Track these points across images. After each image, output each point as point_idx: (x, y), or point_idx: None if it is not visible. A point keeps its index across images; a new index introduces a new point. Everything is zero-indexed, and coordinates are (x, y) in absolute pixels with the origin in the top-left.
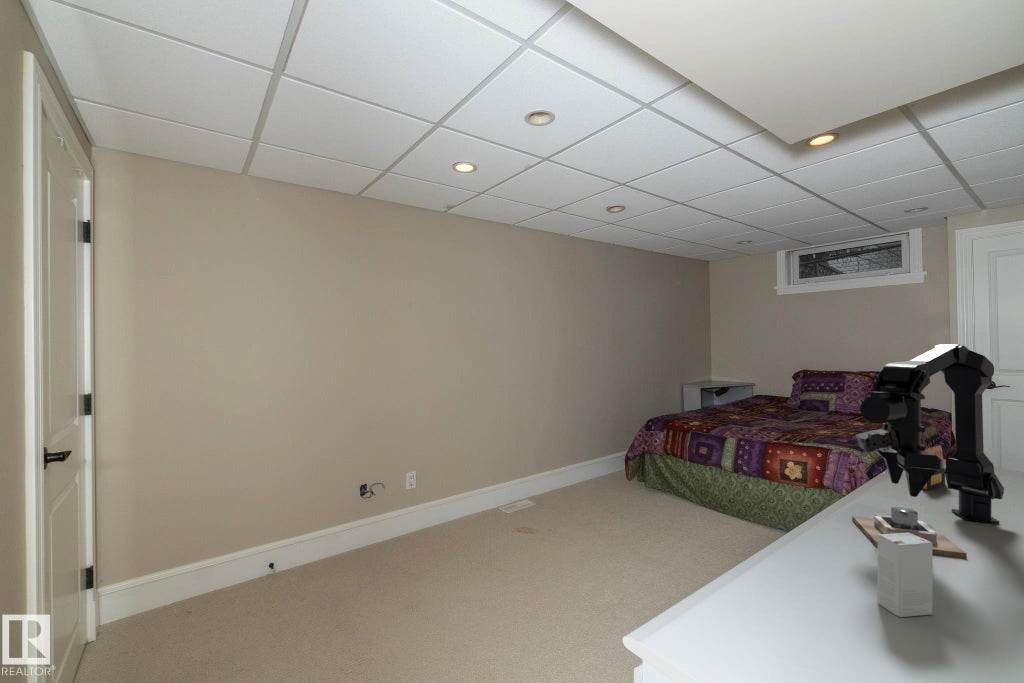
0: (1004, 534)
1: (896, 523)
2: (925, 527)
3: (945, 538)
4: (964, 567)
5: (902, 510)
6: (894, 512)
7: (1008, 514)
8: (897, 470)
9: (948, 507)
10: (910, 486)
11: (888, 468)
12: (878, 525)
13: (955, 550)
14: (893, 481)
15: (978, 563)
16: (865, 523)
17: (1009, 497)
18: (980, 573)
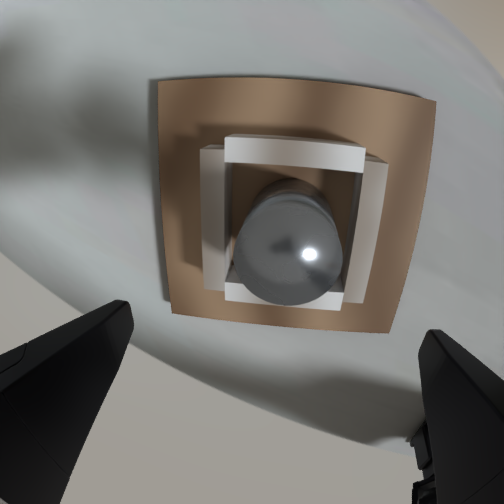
0: (360, 432)
1: (264, 195)
2: None
3: (272, 320)
4: (115, 268)
5: (287, 252)
6: (271, 207)
7: None
8: (448, 431)
9: None
10: (57, 331)
11: (486, 396)
12: (309, 139)
13: (180, 297)
14: (431, 342)
15: (155, 312)
16: (358, 111)
17: None
18: (99, 282)
